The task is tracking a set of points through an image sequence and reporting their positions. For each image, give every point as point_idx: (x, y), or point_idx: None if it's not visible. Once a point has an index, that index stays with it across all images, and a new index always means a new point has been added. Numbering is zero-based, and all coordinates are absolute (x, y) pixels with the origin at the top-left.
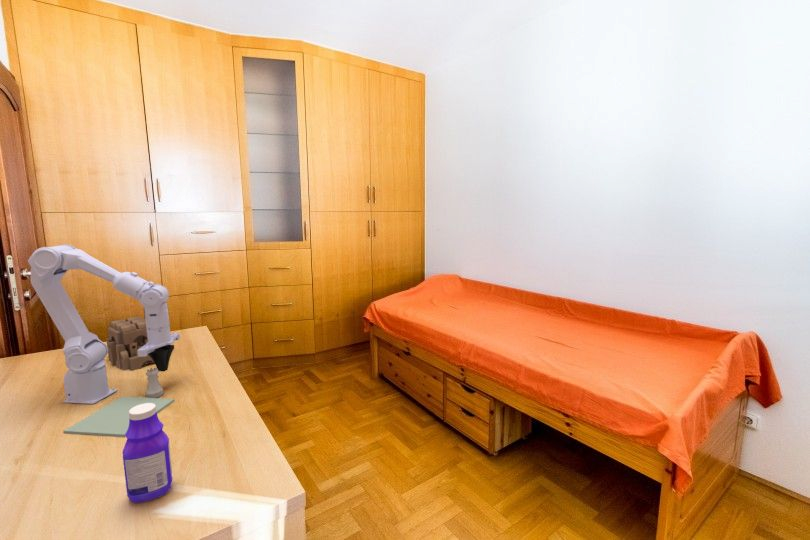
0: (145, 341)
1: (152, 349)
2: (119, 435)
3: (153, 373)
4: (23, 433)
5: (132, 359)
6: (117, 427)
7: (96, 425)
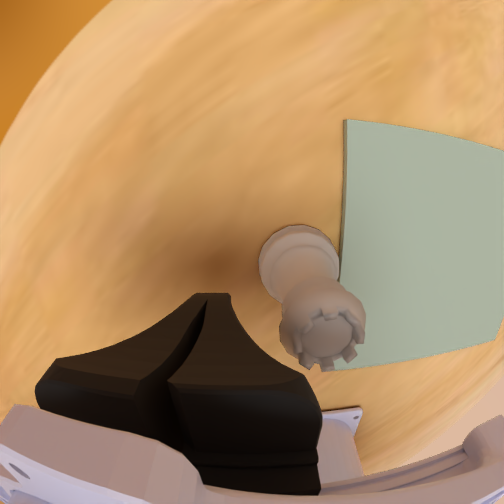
0: None
1: (454, 477)
2: None
3: (352, 303)
4: (462, 405)
5: None
6: None
7: (495, 283)
